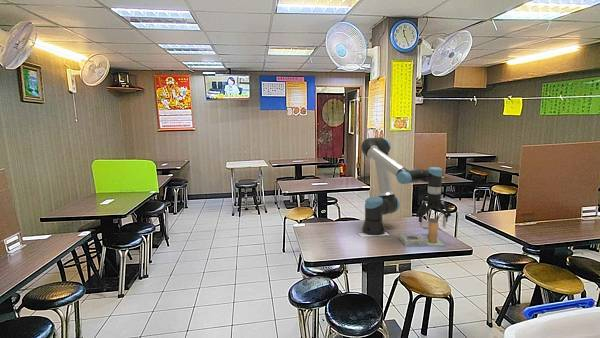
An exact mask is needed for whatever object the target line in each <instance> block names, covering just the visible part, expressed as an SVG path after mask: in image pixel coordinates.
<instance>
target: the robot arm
mask: <svg viewBox="0 0 600 338" xmlns="http://www.w3.org/2000/svg"><path fill="white" fill-rule="evenodd" d="M391 146H392V145H391V142H390V140H389V139H387V138H386V137H367V138H365V139H364V140H363V141H362V142H361V145H360V149H361V152H362V154H363V155H364V156H365V157H366V158H368V159H372V160H373V161H374V165H375V172H376V180H377V183H378V184H377V186H378V191H379V193H378V194H377V196H370V197H368V198H366V199H365V203H364V222H363V225H362V227H361V229H362V232H363V234H366V235H372V236H380V235H384V234H385V233H386V228H385V225H384V222H383V216H384V215H385V216H386V215H390V214H393V213H396V212H397V211H398V210H399V208H400V206H401V205H400V199H399V198H398V197H397V196H396V194H395V192H393V190H392V188H393V187H392V183H391V176H390V173H391V174H392V175H393V176H394V177H396V180H397V182H398V183H399V184H401V185H408V184H412V183H419V182H423V183H427V197H426V200H422V201H421V203H420V206H419V208H418V209H417V211H416V213H415V216H416V217H418V222H419V225H420V226H419V227H420V228H421V229H423V226H424V217H423V216H425V214H426V213H427V212H428V211H429V210H431V209H435V210H436V209H438V210H439V211H440V212H441V213H442V215H443V216H442V227H443V228H445V229H446V228H447V227H446V226H447V222H448V218H449V217H452V214H451V211H450V210H449V208H448V205H447V201H446V200H442V181H443V179H442V178H443V169H442V168H441V167H437V166H431V167H428V169H424V168H423V169H422V168H412V169H410V170H409V169H408V168H406V167H404V166H403V165H402V164H400V163H399V162H398V161H396V160H395V159H393V158H392V157H390V156H389V153H390V151H391V149H392V147H391ZM441 205H442V206H443V207H442V206H441ZM443 208H444V209H443ZM444 210H445V211H444Z"/></svg>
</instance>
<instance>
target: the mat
mask: <svg viewBox="0 0 600 338" xmlns="http://www.w3.org/2000/svg"><path fill="white" fill-rule="evenodd" d="M423 239H424V240H425V241H426V247H445V246H446V245H445V243H443V242H442V241H441V240H440V239H439V238H437V243H430V242H428V238H423Z"/></svg>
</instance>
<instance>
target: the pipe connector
mask: <svg viewBox="0 0 600 338" xmlns="http://www.w3.org/2000/svg"><path fill="white" fill-rule="evenodd" d="M422 229H424V230H429V224H428V225H423V228H422ZM437 230H441V227H440V226H438V229H437Z"/></svg>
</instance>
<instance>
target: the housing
mask: <svg viewBox="0 0 600 338" xmlns="http://www.w3.org/2000/svg"><path fill="white" fill-rule="evenodd" d="M424 239H425V238H423V237H422V236H421V235H420V234H418V233H417V234H416V233H415V234H411V233H410V234H399V240H400V242H401V243H402V244H403V245H404V247H427V245H426V241H425V240H424Z"/></svg>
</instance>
